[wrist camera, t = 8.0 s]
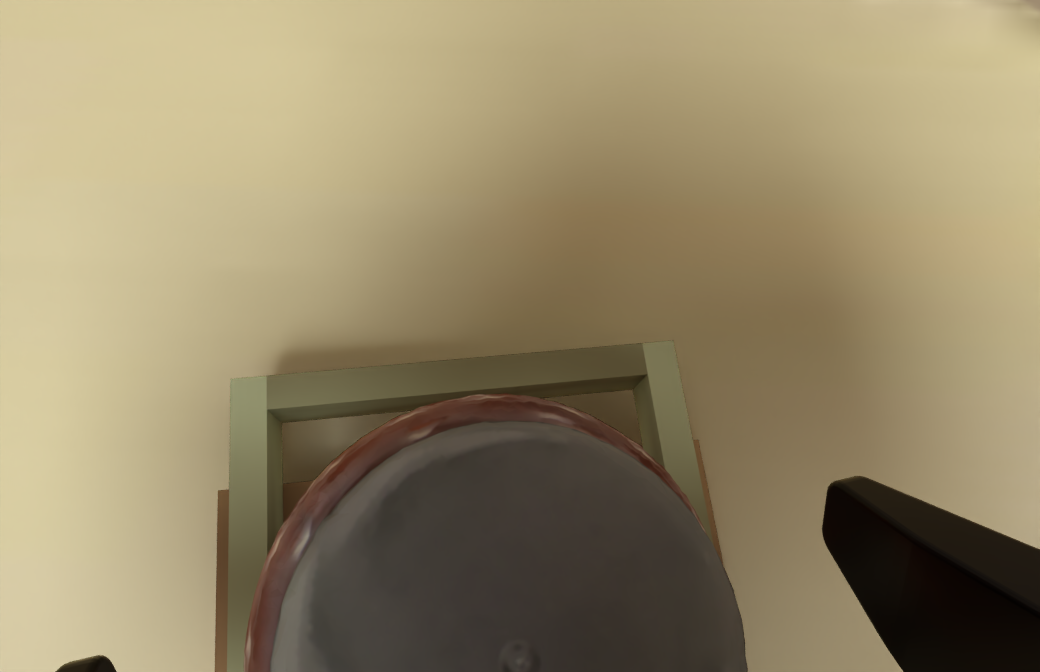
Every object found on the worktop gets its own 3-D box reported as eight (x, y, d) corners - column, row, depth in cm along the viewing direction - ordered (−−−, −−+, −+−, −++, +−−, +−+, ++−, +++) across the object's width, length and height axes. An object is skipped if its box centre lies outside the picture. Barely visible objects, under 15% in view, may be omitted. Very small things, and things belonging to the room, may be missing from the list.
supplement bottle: (644, 558, 17) (977, 536, 6) (519, 804, 15) (691, 1386, 4) (438, 429, 17) (421, 207, 7) (292, 652, 16) (-55, 832, 5)
